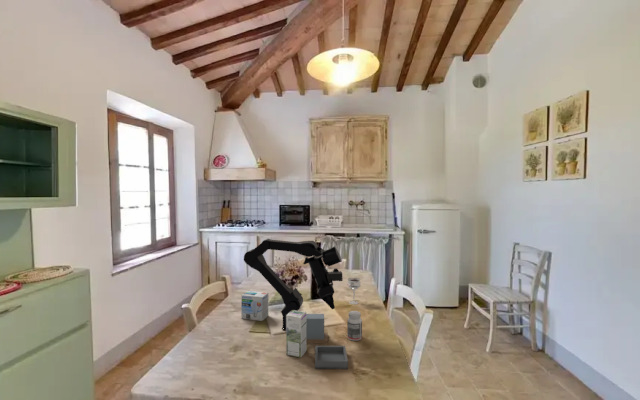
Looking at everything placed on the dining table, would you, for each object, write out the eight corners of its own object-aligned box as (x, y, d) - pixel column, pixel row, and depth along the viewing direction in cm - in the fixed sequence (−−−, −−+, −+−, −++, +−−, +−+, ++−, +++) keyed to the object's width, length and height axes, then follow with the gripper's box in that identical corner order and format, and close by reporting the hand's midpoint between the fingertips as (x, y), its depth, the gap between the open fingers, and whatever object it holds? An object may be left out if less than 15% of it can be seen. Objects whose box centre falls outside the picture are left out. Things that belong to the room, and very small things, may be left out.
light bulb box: (240, 318, 149) (240, 294, 148) (248, 313, 155) (247, 290, 155) (262, 321, 146) (262, 297, 146) (269, 315, 152) (268, 292, 152)
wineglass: (359, 305, 166) (360, 281, 165) (346, 304, 167) (346, 280, 167) (361, 300, 172) (361, 278, 172) (348, 299, 174) (348, 277, 173)
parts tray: (315, 368, 107) (315, 361, 107) (315, 352, 118) (315, 345, 118) (347, 368, 108) (347, 361, 107) (345, 352, 118) (345, 345, 118)
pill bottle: (352, 333, 134) (352, 309, 134) (364, 337, 130) (364, 312, 130) (344, 338, 129) (344, 313, 129) (356, 342, 126) (356, 316, 125)
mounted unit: (299, 343, 125) (299, 319, 125) (300, 335, 132) (300, 312, 132) (328, 343, 125) (328, 319, 125) (327, 335, 132) (327, 312, 132)
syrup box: (307, 350, 120) (307, 311, 119) (300, 358, 114) (300, 317, 113) (292, 348, 121) (292, 309, 121) (285, 355, 116) (285, 314, 115)
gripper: (338, 266, 128) (353, 304, 127) (335, 259, 146) (349, 292, 146) (311, 277, 128) (326, 315, 127) (312, 268, 146) (325, 301, 146)
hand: (333, 305), depth 137 cm, fingers open, 9 cm apart
